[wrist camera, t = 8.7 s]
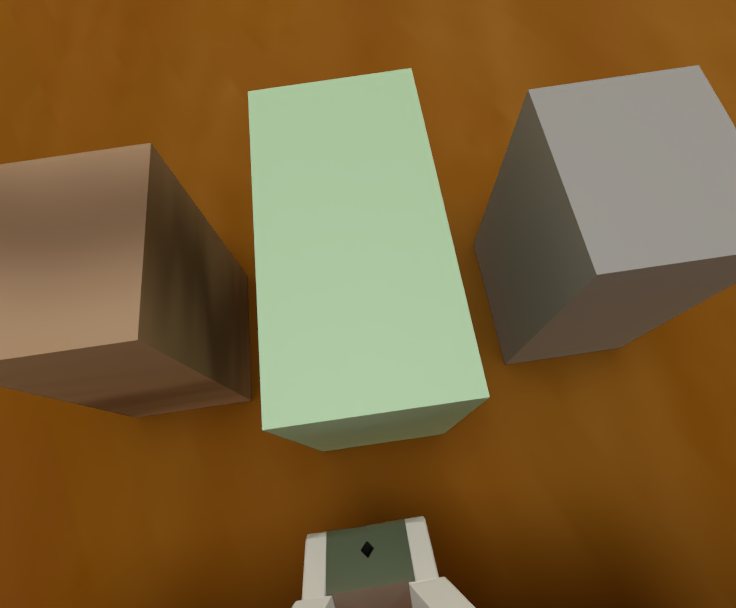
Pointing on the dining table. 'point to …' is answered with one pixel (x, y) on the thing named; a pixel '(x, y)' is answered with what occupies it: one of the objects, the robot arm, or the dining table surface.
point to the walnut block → (117, 287)
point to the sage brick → (355, 268)
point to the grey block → (609, 213)
